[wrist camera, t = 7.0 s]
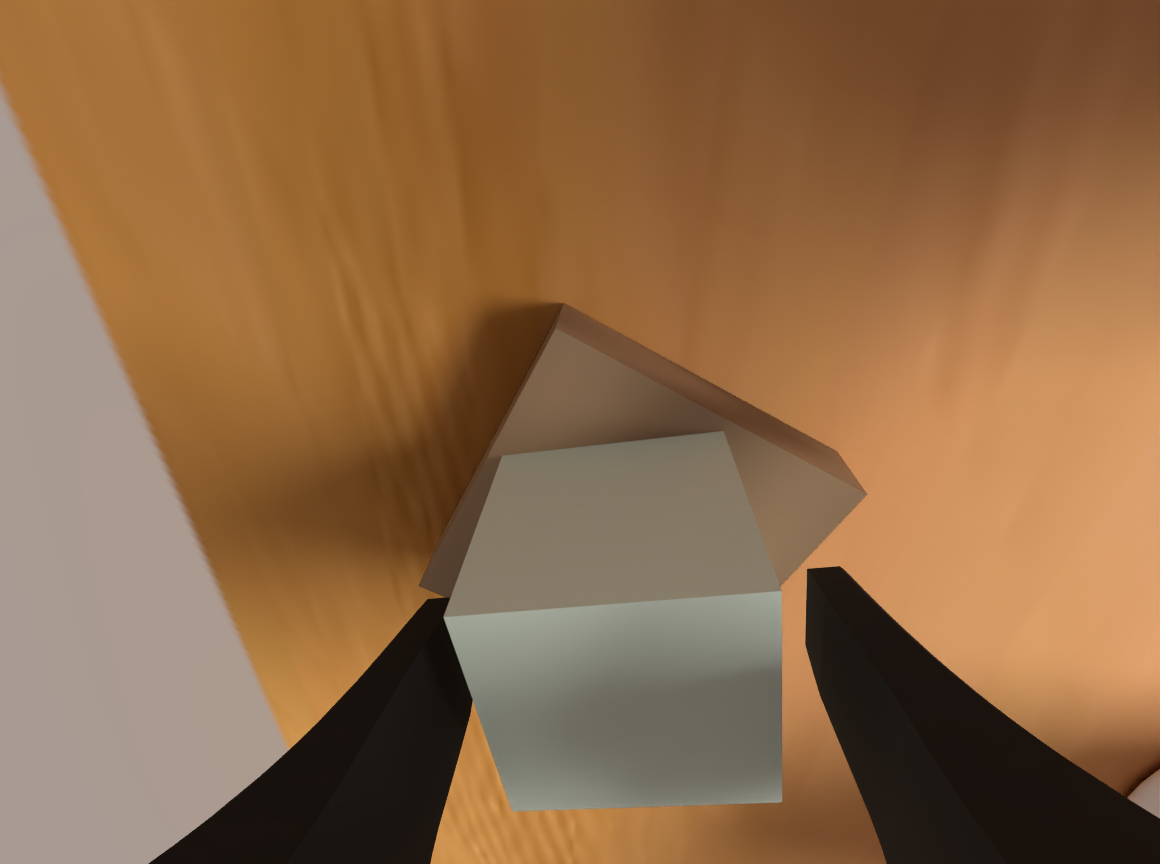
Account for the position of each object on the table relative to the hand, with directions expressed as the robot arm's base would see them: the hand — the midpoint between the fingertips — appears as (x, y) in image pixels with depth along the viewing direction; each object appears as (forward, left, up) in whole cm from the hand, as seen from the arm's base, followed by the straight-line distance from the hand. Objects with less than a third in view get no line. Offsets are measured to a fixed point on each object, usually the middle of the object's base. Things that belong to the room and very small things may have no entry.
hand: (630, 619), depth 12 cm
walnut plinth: (0, 0, -5) cm, 5 cm away
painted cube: (0, 0, -3) cm, 3 cm away
